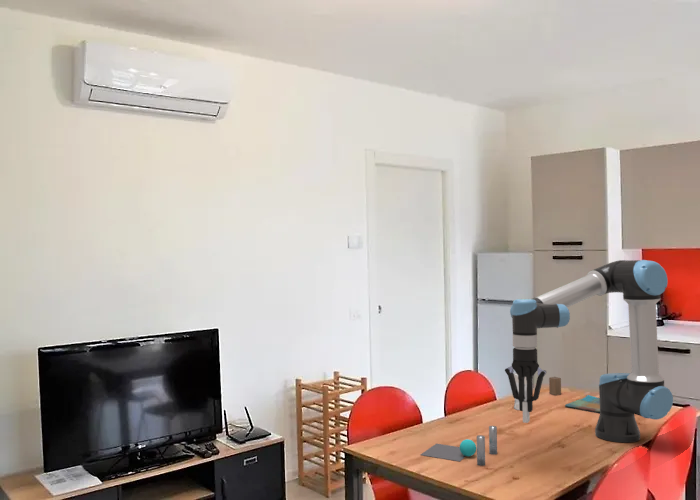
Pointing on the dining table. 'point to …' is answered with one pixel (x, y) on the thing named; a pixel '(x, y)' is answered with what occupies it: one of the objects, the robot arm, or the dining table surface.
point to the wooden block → (555, 386)
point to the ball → (467, 447)
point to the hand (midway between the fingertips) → (526, 421)
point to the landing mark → (444, 452)
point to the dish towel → (586, 404)
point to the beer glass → (516, 404)
